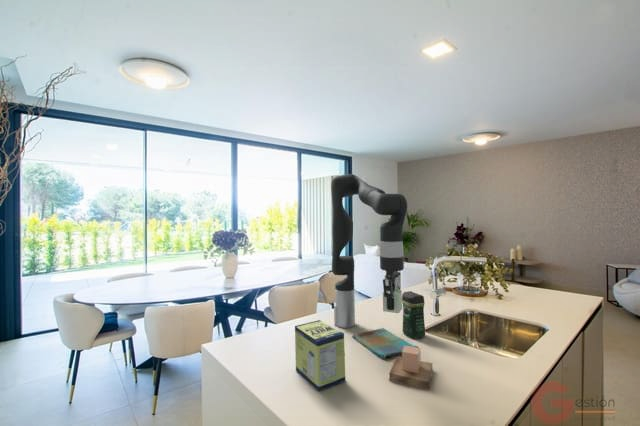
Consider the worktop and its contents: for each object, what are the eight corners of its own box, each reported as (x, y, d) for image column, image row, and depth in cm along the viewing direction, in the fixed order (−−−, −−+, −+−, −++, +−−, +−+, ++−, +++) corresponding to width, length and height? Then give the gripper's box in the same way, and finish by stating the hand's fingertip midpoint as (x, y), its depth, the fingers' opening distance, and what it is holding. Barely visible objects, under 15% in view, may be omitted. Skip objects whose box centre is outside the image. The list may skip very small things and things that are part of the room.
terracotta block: (402, 370, 97) (401, 351, 97) (404, 363, 101) (404, 345, 101) (418, 373, 95) (417, 354, 95) (420, 365, 99) (419, 348, 99)
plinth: (389, 380, 95) (389, 373, 95) (396, 363, 106) (396, 356, 106) (429, 389, 90) (428, 381, 90) (432, 370, 101) (432, 363, 101)
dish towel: (383, 362, 108) (383, 355, 108) (351, 338, 129) (350, 332, 129) (420, 352, 115) (420, 346, 115) (383, 331, 136) (383, 325, 136)
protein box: (320, 361, 108) (319, 319, 108) (346, 381, 95) (345, 333, 95) (294, 370, 103) (293, 325, 103) (318, 392, 90) (317, 341, 90)
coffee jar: (428, 337, 127) (427, 294, 127) (413, 340, 124) (412, 296, 124) (414, 329, 136) (413, 289, 136) (399, 332, 133) (398, 291, 134)
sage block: (383, 311, 95) (382, 292, 95) (386, 306, 100) (386, 288, 100) (398, 313, 93) (398, 294, 93) (402, 308, 97) (401, 290, 97)
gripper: (398, 258, 88) (399, 315, 88) (407, 252, 101) (408, 302, 101) (373, 257, 92) (375, 312, 92) (385, 251, 105) (386, 299, 104)
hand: (392, 306), depth 96 cm, fingers closed on sage block, 5 cm apart
